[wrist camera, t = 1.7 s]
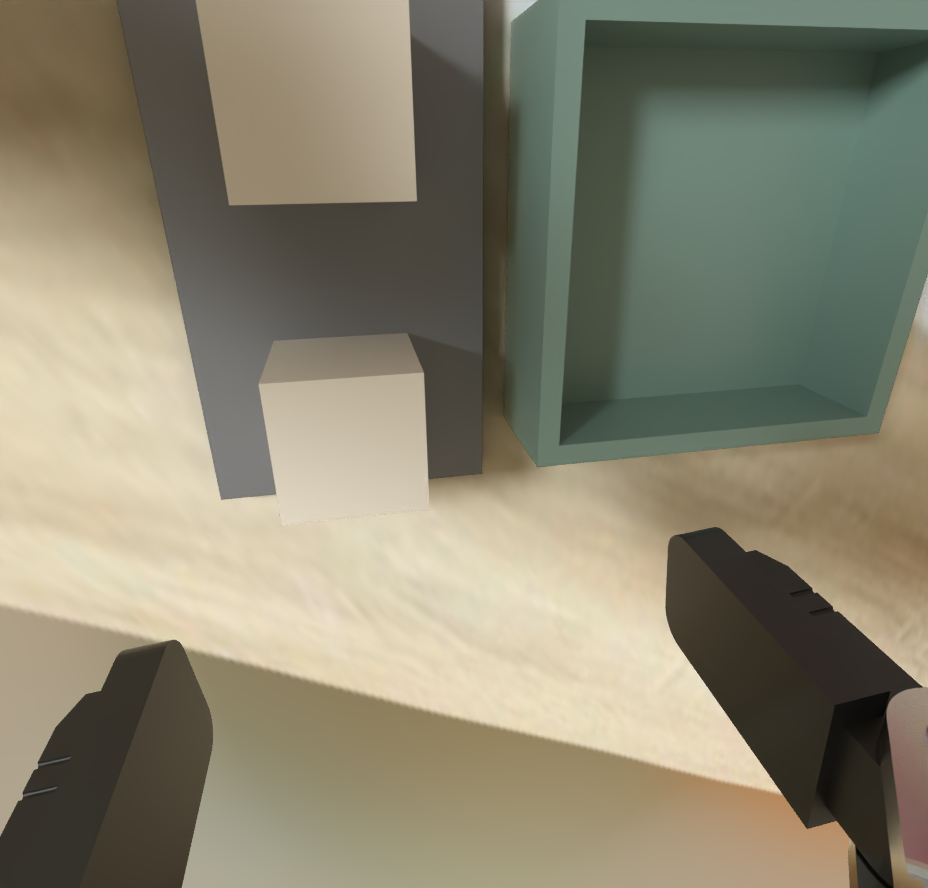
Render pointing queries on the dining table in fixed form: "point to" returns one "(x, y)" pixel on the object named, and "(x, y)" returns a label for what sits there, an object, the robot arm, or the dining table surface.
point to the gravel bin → (711, 221)
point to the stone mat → (322, 241)
